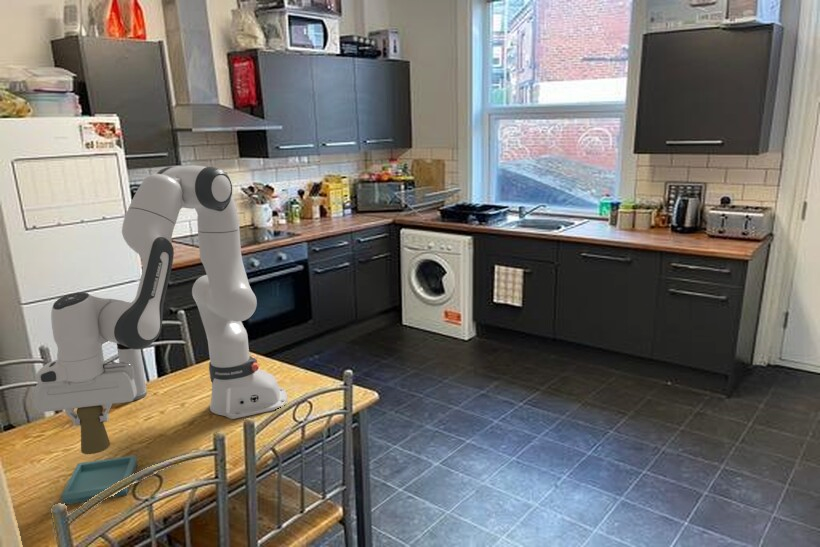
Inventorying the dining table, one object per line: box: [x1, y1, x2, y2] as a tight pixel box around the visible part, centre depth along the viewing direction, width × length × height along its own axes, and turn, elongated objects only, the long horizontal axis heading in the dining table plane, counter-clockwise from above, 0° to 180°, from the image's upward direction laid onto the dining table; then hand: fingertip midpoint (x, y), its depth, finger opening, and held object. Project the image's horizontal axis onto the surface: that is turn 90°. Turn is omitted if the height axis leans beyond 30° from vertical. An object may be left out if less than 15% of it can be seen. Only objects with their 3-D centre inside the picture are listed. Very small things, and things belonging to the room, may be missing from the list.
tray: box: [61, 454, 138, 505], centre depth 139 cm, size 13×13×3 cm
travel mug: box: [116, 343, 148, 401], centre depth 181 cm, size 6×7×20 cm
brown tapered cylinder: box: [76, 405, 111, 455], centre depth 135 cm, size 6×6×11 cm
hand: (91, 422), depth 135 cm, fingers closed on brown tapered cylinder, 4 cm apart
